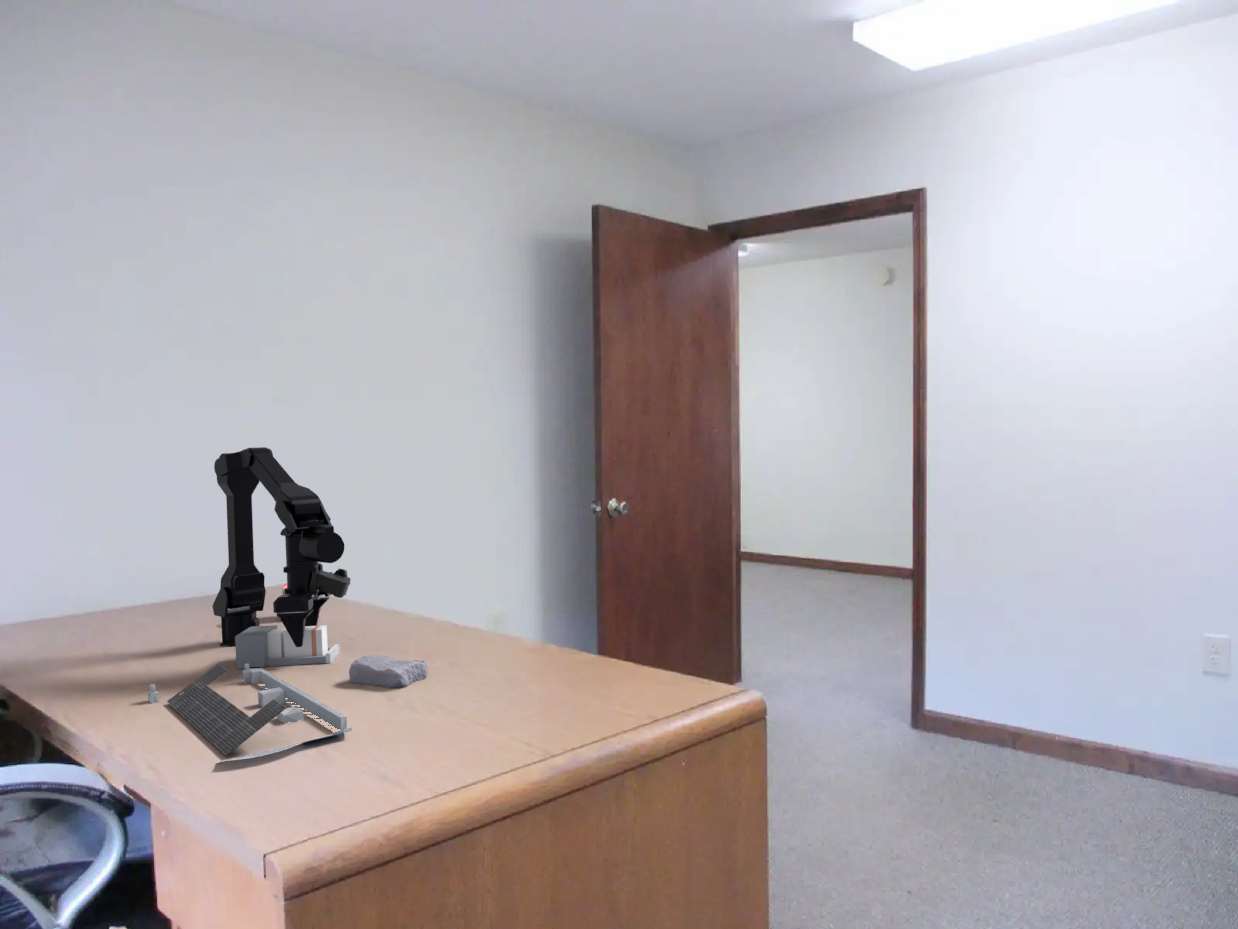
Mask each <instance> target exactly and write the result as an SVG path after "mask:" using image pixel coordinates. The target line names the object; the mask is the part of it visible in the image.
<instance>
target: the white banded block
mask: <svg viewBox="0 0 1238 929" xmlns="http://www.w3.org/2000/svg"><path fill="white" fill-rule="evenodd" d="M283 633H284V654H285V657H284V658H289V657H308V656H326V653H327V652H328V648H329V647H328V627H327V624H325V625H317V626H305V630H304V639H303V645H302V647H296V646H295V644H294V642H293V640H292V639H291V637H290V635H289V633H288V631H287V630H285V631H284V632H283Z"/></svg>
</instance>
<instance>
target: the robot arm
mask: <svg viewBox="0 0 1238 929" xmlns="http://www.w3.org/2000/svg"><path fill="white" fill-rule="evenodd" d="M213 467H214V469H213V470H214V473H215V474H216V475H215V476H216V481H217V486H219V487H220V489H221V491H222V492H223V493H224V494H225V499H226V524H227V525H226V526H227V527H226V528H227V549H228V550H227V552H228V566H227V568H226V569H225V571H224V572H223V575H222V576H221V578H220V587H219V588H220V589H219V591H218V593H217V595H216V597H215V599H214V601H213V603H212V611H213V615H214V616H215V617H220V621H221V623H220V624H221V642H220V643H218V645H219V647H222V646H223V647H224V646H235V636H237V635H238V634H240V633H241V632H243V631H245V630H246V629H248V628H249V627H251V626H261V625H260V618H259V617H257V612H263V611H264V607H265V606H264V605H265V599H266V593H267V589H266V587H265V586H266V585H265V576H266V575H265V574H264V572H262V571H261V572H260V570H259V569H258V568H257V566H256V564H255V554H254V553H255V552H254V530H253V529H254V527H253V526H254V525H253V524H254V522H253V520H254V519H253V499H252V498H253V497H252V496H253V493H254V492H255V491H256V488H257V486H258V485H259V484H260V483H261V485H262V486H263V488H264V489H266V491H267V492H268V493H269V494H270V496H271V497H272V498H273V500H274V502H275V503H274V504H275V505H274V512H275V514H276V515H277V517H278V519H279V521H280V522H281V523H282V524H283V525H284V528H283V529H281V531H280V533H279V534H280V536H282V537H284V538H285V540H284V541H285V555H286V556H285V557H286V558H285V559H286V560H285V563H286V564H285V566H284V567H283V568H282V569H283V573H284V574H285V573H286V583H287V588H286V589H284V592H285V594H283V593H282V594H281V595H280V596H278V597H277V598H276V599H275V600H274V601H273V603H272V604H273V605H272V606H273V608H272V609H273V614H274V613H275V614H276V616H277V617H278V618H279V619H280V621H281V623H282V624H283V626H284V627H285V628H286V630H287V631H288V633H289V635H290V637H291V639H292V640H293V642H294V644H295V646H296V647H302V645H303V639H304V630H305V626H318V623H319V619H318V618H319V614H320V615H321V609H322V607H323V606H324V605H325V604H326V603H327V602H328V601H329V600H330V596H333V597H335V598H337V599H338V598H341V599H342V598H343V597H344V596H347V592H348V590H349V586H350V585H351V577H348V571H347V570H346V569H344V568H337V570H336V571H335V572H334V573H333V572H332V571H325V570H324V567H323V564H324V563H326V564H333V563H336V562H337V561H339V560H340V558H341V557H342V556H343V554H344V552H345V542H344V540H343V538H342V537H341V535H339V534H338V533H336V532H335V527H334V525H332V523H331V521H332V520H331V518H330V516H329V514H328V512H327V511H326V509H325V507H324V504H323V502H322V500H321V499H320V497H319V496H318V494H316V492H314V491H313V490H311V489H310V488H308V487H305V486H303V485H300V484H298V483H297V482H296V481H294V479H293V478H292V477H291V475H289V473H288V472H287V471H286V470H285V468H284V467H283V466H282V464H280V462H279V461H278V460H277V459H276V457H274V453H273V451H272V449H271V448H270V447H269V448H267V446H266V447H265V446H264V447H263V446H262V447H247V448H245V449H241V450H239V451H236V452H227V453H226V452H225V453H221V454H220V455H219V457H218V458H216V460H215V462H214V465H213ZM323 596H324V597H323Z"/></svg>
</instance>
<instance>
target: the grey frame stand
mask: <svg viewBox="0 0 1238 929" xmlns="http://www.w3.org/2000/svg"><path fill="white" fill-rule="evenodd" d="M285 630H286V628H284V627H283V628H278V624H275V625H260V626H251V627H249V628H248V629H246V630H245V631H243V632H241V633H240V634H238V635H237V636H235V645H234V646H235V664H236V665H235V666H236V669H237V668H242V669H245V665H244V664H247V663H248V664H249V669H251V668H250V667H261V668H266V667H277V666H299V665H315V664H317V665H319V664H331V663H332V662H333V661H334V660H335V659H336V658H337V657H338V656H339V655H340V652H341V651H340V644H339V643H338V644H337V643H336V644H334V645H332V647H328V652H327V653H326V656H308V657H289V658H285V654H284V633H283V632H284V631H285ZM338 654H339V655H338ZM337 655H338V656H337ZM335 657H336V658H335Z"/></svg>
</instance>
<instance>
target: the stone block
mask: <svg viewBox="0 0 1238 929" xmlns="http://www.w3.org/2000/svg"><path fill="white" fill-rule="evenodd" d="M427 662H428V661H425V660H418V659H413V660H407V659H406V660H405V659H402V660H401V659H398V658H395V657H391V656H388V655H387V656H386V655H381V654H369V655H362V656H361V657H360V658H357V659H354V661H352V662H351V663H350V667H349V669H348V675H349V682H350V683H351V682H352V683H351V684H355V683H358V684H357V685H363V684H369V685H368V686H371V685H374V687H379V686H381V688H386V687H388V688H389V689H403V688H405V687H407V685H409V686H411V685H412V684H414V683H417V682H420V681H423V680H425V679H427V675H428V674H429V667H428V663H427ZM416 681H417V682H416ZM388 688H387V689H388Z"/></svg>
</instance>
